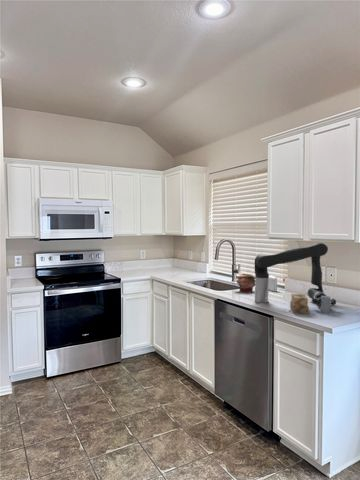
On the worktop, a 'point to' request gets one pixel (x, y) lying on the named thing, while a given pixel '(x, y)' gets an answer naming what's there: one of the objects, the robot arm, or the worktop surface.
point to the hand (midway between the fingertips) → (326, 303)
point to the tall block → (325, 304)
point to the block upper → (299, 300)
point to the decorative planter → (246, 282)
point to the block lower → (299, 309)
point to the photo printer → (272, 283)
